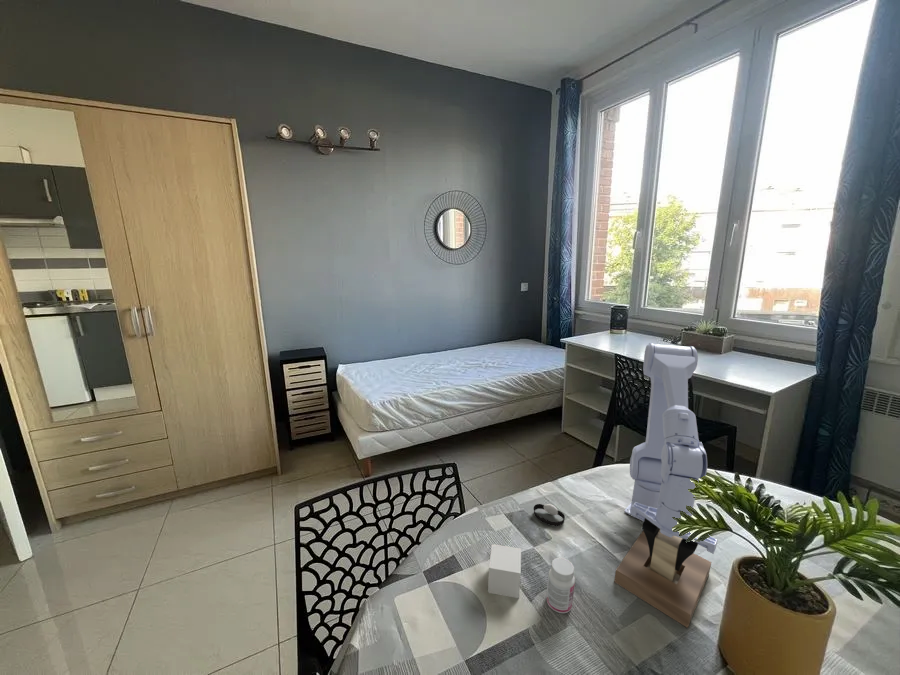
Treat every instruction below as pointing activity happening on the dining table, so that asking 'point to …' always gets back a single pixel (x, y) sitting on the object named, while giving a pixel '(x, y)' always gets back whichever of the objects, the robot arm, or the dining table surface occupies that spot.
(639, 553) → the socket block
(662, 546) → the beech peg
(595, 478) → the dining table surface
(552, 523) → the watch
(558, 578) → the pill bottle
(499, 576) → the white cube
